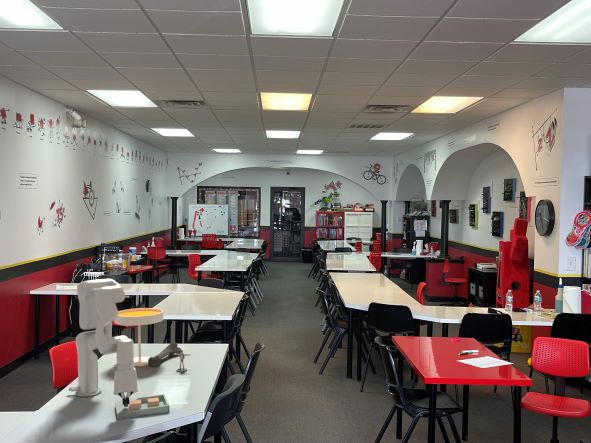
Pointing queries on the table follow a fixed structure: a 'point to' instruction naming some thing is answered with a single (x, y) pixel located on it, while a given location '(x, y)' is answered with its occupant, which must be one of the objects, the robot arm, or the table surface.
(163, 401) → the tray
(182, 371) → the figurine
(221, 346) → the table surface
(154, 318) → the round pedestal stand
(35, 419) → the table surface
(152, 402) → the tile far
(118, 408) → the deck
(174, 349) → the bone
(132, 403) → the tile near
